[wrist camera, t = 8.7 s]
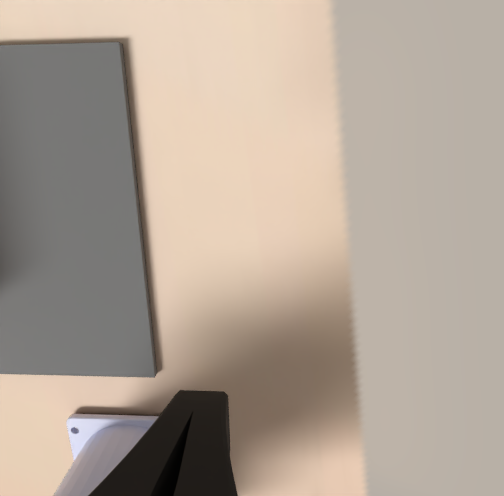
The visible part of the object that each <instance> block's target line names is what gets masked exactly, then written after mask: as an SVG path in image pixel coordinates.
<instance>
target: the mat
mask: <svg viewBox="0 0 504 496" xmlns="http://www.w3.org/2000/svg"><path fill="white" fill-rule="evenodd" d="M0 374H30V375H71V376H113V377H155V376H156V374H157V370H156V360H155V351H154V341H153V331H152V322H151V312H150V303H149V293H148V284H147V274H146V264H145V255H144V245H143V236H142V226H141V217H140V207H139V198H138V188H137V178H136V169H135V159H134V150H133V140H132V131H131V121H130V112H129V102H128V92H127V83H126V73H125V64H124V54H123V45H122V44H121V43H120V42H103V43H65V44H28V45H0Z"/></svg>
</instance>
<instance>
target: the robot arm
mask: <svg viewBox="0 0 504 496" xmlns="http://www.w3.org/2000/svg"><path fill="white" fill-rule="evenodd" d="M66 424H67V429H68V434H69V439H70V443H71V448H72V453H73V458H74V462H73V464H72V465H71V467H70V469H69V470H68V472H67V474H66V475H65V477H64V478H63V480H62V482H61V483H60V485H59V487H58V488H57V490H56V492H55V493H54V495H53V496H238V495H237V491H236V486H235V482H234V477H233V472H232V467H231V461H230V432H229V407H228V395H227V394H226V393H225V392H217V391H184V390H180V391H179V392H178V393H177V394H176V395H175V396H174V398H173V399H172V400H171V402H170V403H169V404H168V405H167V407H166V408H165V409H164V411H163V412H162V413H161V414H160V416H133V415H100V414H72V415H70V417H69V418H68V419H67V423H66ZM76 428H77V429H76Z"/></svg>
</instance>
